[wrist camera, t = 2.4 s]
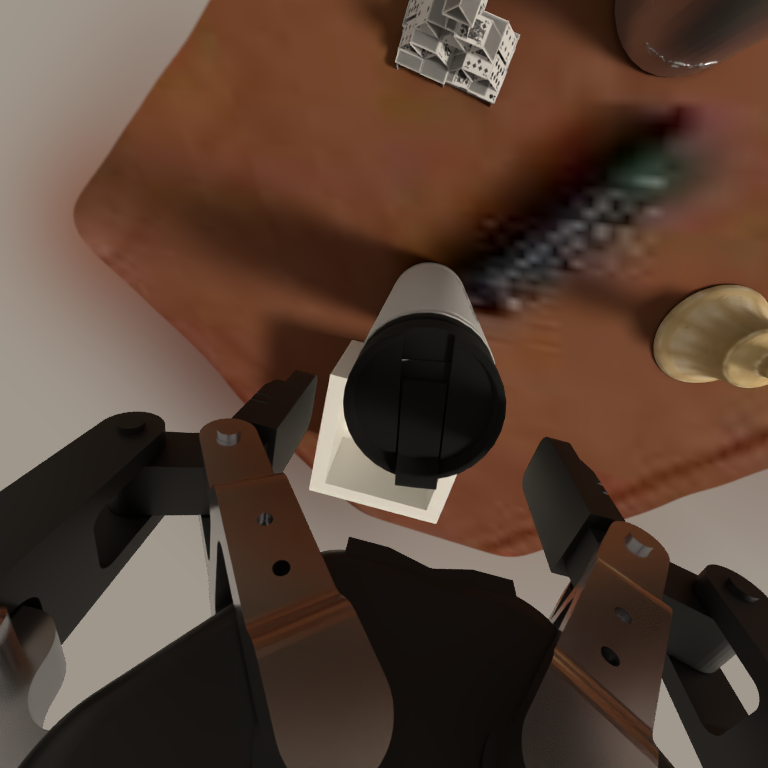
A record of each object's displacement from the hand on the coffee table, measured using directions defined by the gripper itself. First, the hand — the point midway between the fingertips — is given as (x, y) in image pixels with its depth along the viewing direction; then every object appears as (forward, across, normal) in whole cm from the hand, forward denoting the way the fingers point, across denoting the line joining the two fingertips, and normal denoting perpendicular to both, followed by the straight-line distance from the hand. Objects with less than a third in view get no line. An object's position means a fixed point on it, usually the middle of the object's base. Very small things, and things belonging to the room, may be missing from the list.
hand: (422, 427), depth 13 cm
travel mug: (+21, 0, 0) cm, 21 cm away
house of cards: (+21, +2, -19) cm, 28 cm away
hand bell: (+21, -23, -3) cm, 31 cm away
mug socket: (+21, 0, +11) cm, 23 cm away
